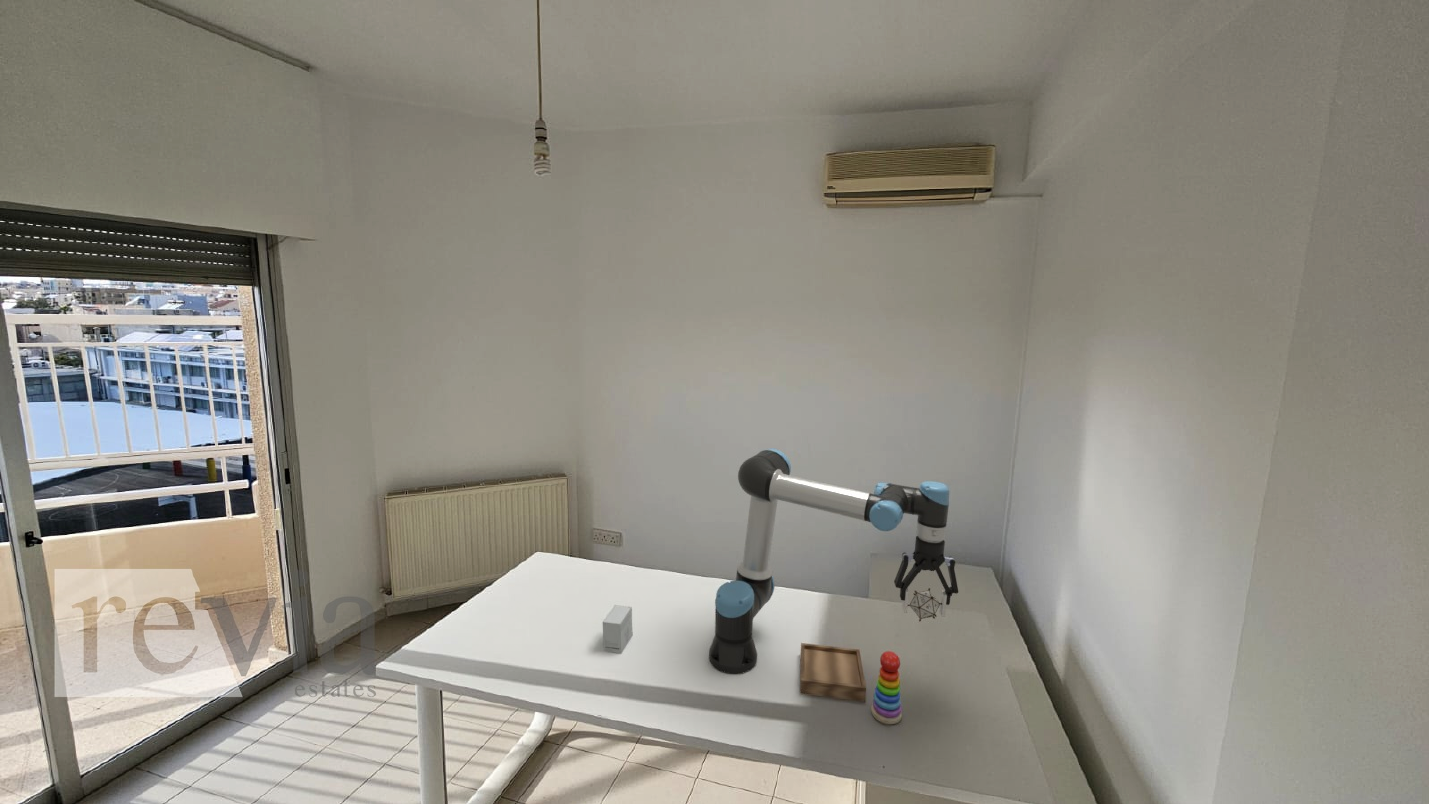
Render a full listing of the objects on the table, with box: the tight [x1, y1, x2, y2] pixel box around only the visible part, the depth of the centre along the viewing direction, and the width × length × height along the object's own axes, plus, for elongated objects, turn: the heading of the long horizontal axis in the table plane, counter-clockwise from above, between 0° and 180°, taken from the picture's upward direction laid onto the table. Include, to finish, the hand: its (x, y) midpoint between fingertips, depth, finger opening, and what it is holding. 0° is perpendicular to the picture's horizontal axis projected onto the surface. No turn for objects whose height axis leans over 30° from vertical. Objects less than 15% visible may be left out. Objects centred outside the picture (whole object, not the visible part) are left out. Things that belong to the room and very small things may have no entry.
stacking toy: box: [870, 650, 903, 725], centre depth 145 cm, size 8×8×19 cm
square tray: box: [799, 642, 867, 703], centre depth 161 cm, size 18×18×4 cm
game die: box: [908, 587, 942, 623], centre depth 153 cm, size 9×8×10 cm
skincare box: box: [602, 604, 634, 655], centre depth 175 cm, size 10×6×10 cm, turn 168°
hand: (923, 612), depth 153 cm, fingers closed on game die, 9 cm apart
